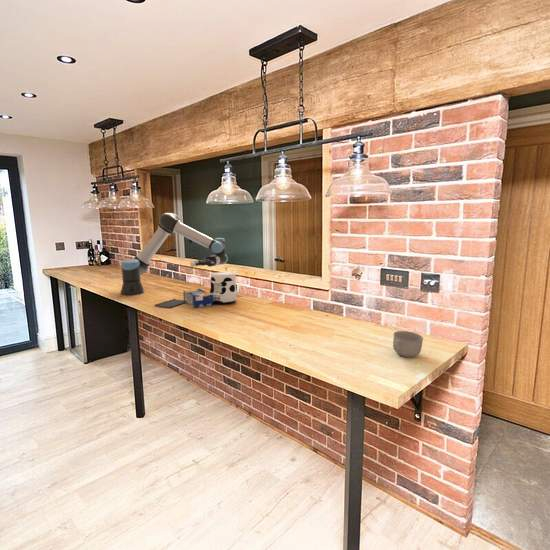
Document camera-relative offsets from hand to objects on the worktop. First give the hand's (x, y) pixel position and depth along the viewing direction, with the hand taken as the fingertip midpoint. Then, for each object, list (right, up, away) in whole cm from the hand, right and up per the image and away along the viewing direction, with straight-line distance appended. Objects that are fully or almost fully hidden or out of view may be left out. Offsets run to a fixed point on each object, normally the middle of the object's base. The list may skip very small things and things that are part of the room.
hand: (191, 264), depth 239 cm
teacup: (+105, -38, -98) cm, 149 cm away
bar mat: (-8, -25, -14) cm, 30 cm away
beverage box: (+1, -19, -4) cm, 20 cm away
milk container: (+23, -24, -10) cm, 34 cm away
